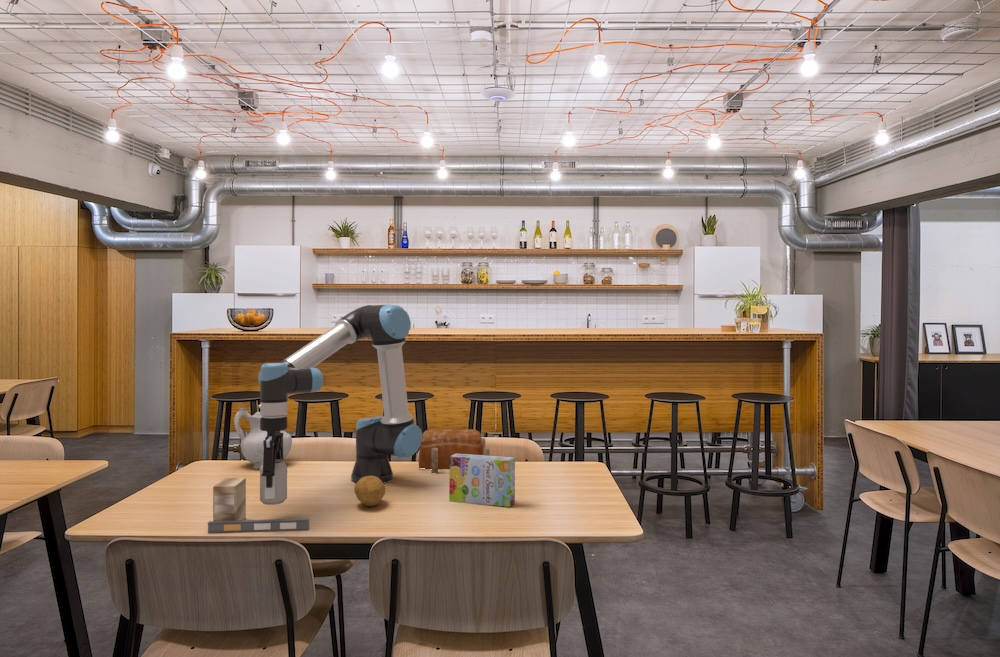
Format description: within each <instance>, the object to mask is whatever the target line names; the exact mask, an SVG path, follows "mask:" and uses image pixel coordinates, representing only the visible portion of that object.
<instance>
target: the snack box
mask: <svg viewBox="0 0 1000 657" xmlns="http://www.w3.org/2000/svg"><path fill="white" fill-rule="evenodd" d="M448 471H449V473H448V474H449V479H448V480H449V481H448V482H449V485H448V486H449V495H448V496H449V500H448V501H449V502H452V501H453V503H462V502H464V503H465V504H472V503H473V504H472V505H475V504H476V505H483V504H484V505H486V506H493V505H495V507H503V506H504V508H505V507H506V508H510V507H512V506H513V505H515V504H514V503H516V457H512V456H498V455H497V456H496V455H490V456H486V455H471V454H454V455H452V456H450V469H449V470H448Z"/></svg>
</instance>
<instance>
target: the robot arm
mask: <svg viewBox="0 0 1000 657" xmlns="http://www.w3.org/2000/svg"><path fill="white" fill-rule="evenodd" d="M411 324H412V323H411V318H410V315H409V313H408V312H407V310H405V309H404V308H403V307H402V306H401V305H397V304H390V303H389V304H375V305H374V304H369V305H368V304H367V305H363V306H361V307H358V308H356V309H354V310H352V311H350V312H348V313H347V314H345V315H344V316H342V317H341V318H340V319H338V320H336V321H335V324H334V326H332V327H331V328H330V329H328V330H327V331H324V333H322V334H320V335H319V336H318V337H316V338H315V339H313V340H311V341H309V343H307V344H305V345H304V346H302V347H301V348H299V349H298V350H297V351H295V352H294V353H293V354H290V355H289V356H287V357H286V358H284V359H283V360H281V361H280V362H271V363H270V362H267V363H264V364H262V365H261V367H260V371H259V373H258V378H257V379H258V383H259V387H260V388H259V391H260V392H259V395H260V396H259V397H260V400H259V401H260V404H258V408H259V410H260V411H259V412H260V415H261V416H263V417H261V418H260V430H262V431H267V437H265V440H264V441H263V443H264V455H263V474H262V476H265V499H275V475H274V470H275V460H276V459H280V460H284V459H285V458H283V435H284V434H283V433H281V432H280V431H282V430H284V431H285V430H287V429H288V417H287V415H288V411H289V409H288V404H289V403H288V398H289V395H295V394H311V393H315V392H319V391H320V390H321V389H322V387H323V384H324V376H323V373H322V371H321V370H320V369H318V368H317V366H318V365H320V364H321V363H322V362H324V361H325V360H326V359H327V358H330V356H332V355H333V354H335V353H336V352H338V351H339V350H340V349H342V348H344V347H345V346H346V345H348V344H349V345H352V344H354V343H356V342H357V341H360V340H363V339H371V346H372V347H373V348H375V349H376V351H377V361H378V371H379V380H380V389H381V396H382V407H383V416H374V417H373V416H372V417H366V418H360V419H358V420H357V421H356V425H355V427H356V428H355V461H354V465H353V469H352V471H351V475H350V482H352V483H353V482H354V483H353V484H356V483H357V482H358V481H359V480H360V479H361V478H362V477H365V476H375V477H378V478H379V479H380V480H381V481H382V482H383V483H384V482H387V483H389V482H388V481H390V480H391V481H393V480H392V479H394V473H393V469H392V466H391V462H390V460H389V456H394V457H397V458H409V457H412V456H413V455H415V454H416V453H417V452H418V451H419V447H420V445H421V441H422V434H423V432H422V429H421V428H420V427H419V425H417V424H415V420H414V416H413V415H412V414H411V413H410V412H409V404H408V394H407V393H408V392H407V384H406V377H405V376H406V375H405V365H404V357H403V346H404V344H405V343H406V337H407V336H408V335H409V334H410V330H411V328H412V326H411ZM284 461H285V460H284ZM391 481H390V482H391ZM384 484H385V483H384Z"/></svg>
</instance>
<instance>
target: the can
mask: <svg viewBox="0 0 1000 657" xmlns="http://www.w3.org/2000/svg"><path fill="white" fill-rule="evenodd" d="M285 462H286V460H280V459H276V460H275V470H274V475H275V499H265V476H262V474H263V465H262V466H261V467H260V469H259V501H260V502H261V503H262V504H263V505H267V506H270V505H271V506H272V505H273V506H274V505H280V504H283V503H284V502H285V501H286V500H288V465H287V464H286V463H285ZM262 463H263V462H262Z"/></svg>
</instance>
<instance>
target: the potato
mask: <svg viewBox="0 0 1000 657" xmlns="http://www.w3.org/2000/svg"><path fill="white" fill-rule="evenodd" d="M386 489H387V488H386V485H385V483H383V482H382V481H381V480H380V479H379V478H378V477H375V476H365V477H362V478H361V479H360V480H359V481H358V482H357V483H355V486H354V495H355V496H356V498H357V500H358V501H359V502H360V503H361V504H363V505H364V506H367V507H373V506H376V505H378V504H379V503H380V502H381V501H382V499H383V498H384V496H385V495H386Z"/></svg>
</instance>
